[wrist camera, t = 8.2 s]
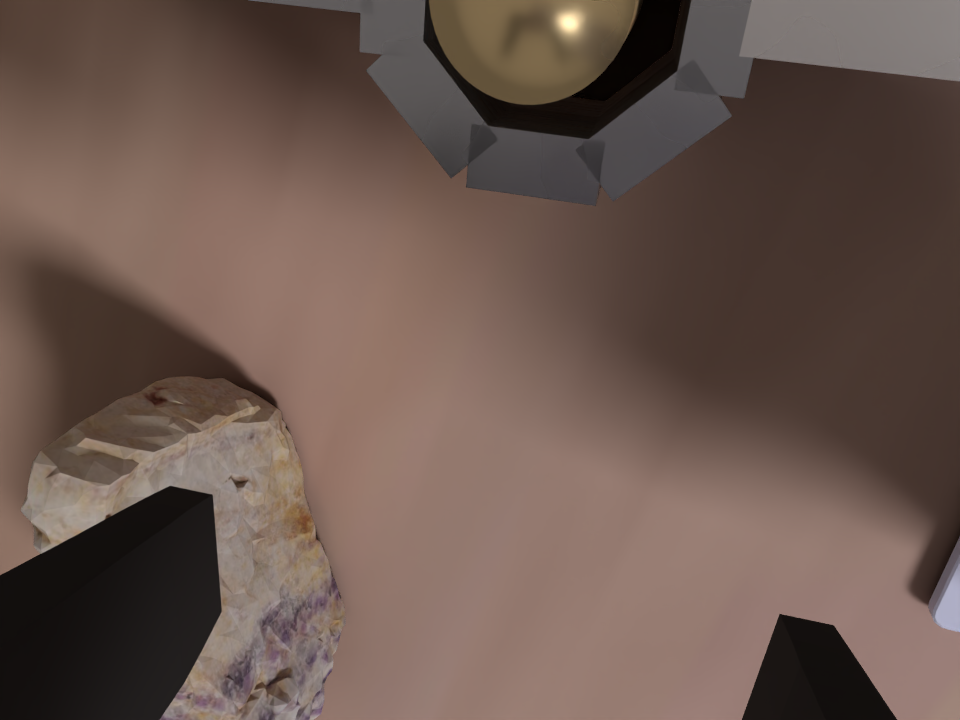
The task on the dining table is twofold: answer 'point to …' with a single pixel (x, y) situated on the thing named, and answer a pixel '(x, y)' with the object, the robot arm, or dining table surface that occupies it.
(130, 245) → the dining table surface
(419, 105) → the hinge
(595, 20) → the hinge pin
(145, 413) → the mineral specimen
